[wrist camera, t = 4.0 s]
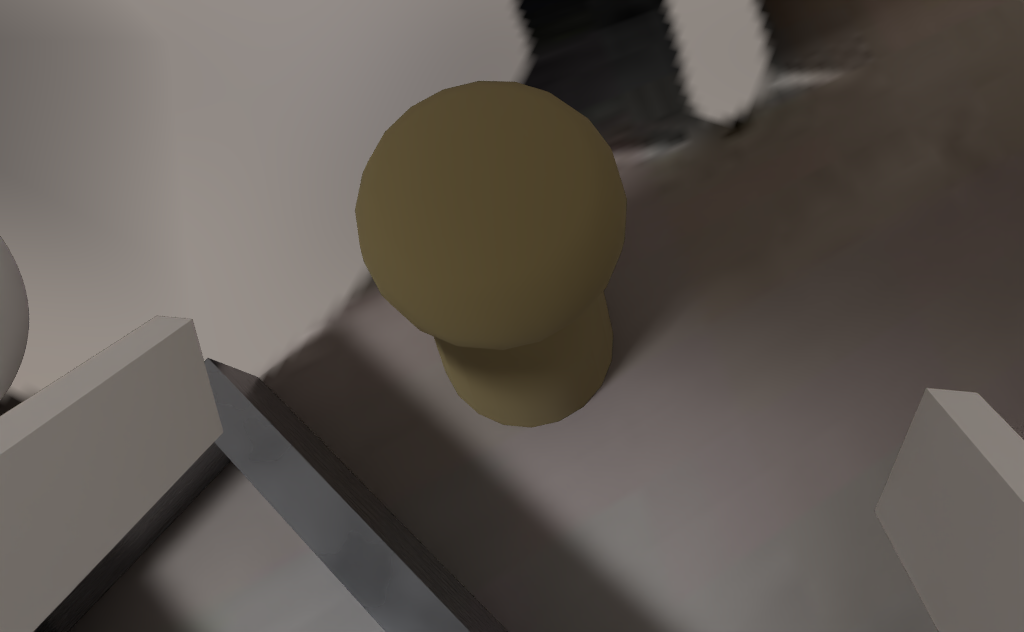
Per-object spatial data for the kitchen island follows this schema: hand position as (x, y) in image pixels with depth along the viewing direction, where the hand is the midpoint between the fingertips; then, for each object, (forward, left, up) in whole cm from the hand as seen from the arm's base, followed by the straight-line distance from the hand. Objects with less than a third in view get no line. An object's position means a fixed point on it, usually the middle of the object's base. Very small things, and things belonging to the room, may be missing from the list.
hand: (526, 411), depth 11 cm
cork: (-3, +2, -9) cm, 10 cm away
